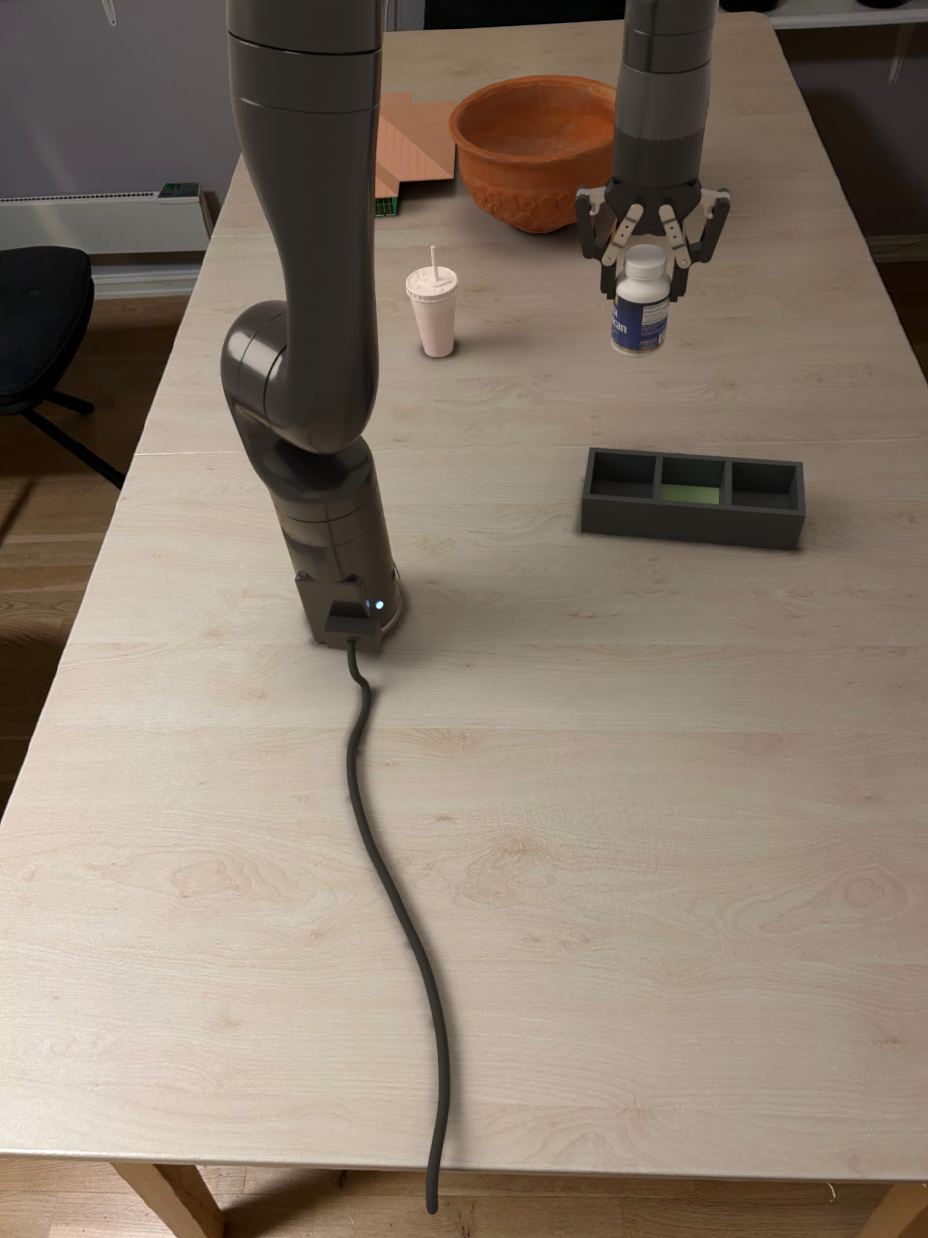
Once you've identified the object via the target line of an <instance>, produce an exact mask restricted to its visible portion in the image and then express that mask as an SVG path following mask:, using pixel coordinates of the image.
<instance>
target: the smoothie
mask: <svg viewBox="0 0 928 1238" xmlns="http://www.w3.org/2000/svg"><path fill="white" fill-rule="evenodd" d="M430 255H431V265H432V266H426V267H425V266H424V267H422V268H419V269H416V270H414V271H413V272H411V273H410V274H409V276H407V278H406V280H405V292H406V294H407V295H408V297H409V298H410V301H411V304H412V308H413V312H414V316H415V320H416V323H417V327H418V331H419V334H420V335H419V336H420V338H421V342H422V346H423V351H424V352H425V354H426V355H427V356H429V357H432V358H443V357H447V356H449V355H450V354H451V353H453V351H454V342H455V341H454V340H455V324H456V323H455V322H456V302H457V292H458V290H459V287H460V284H459V276H458V275H457V273H456V272H455V271H453V270H452V269H450V268H448V267H444V266H438V260H437V259H438V258H437V249H436V245H430Z"/></svg>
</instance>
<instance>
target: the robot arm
mask: <svg viewBox="0 0 928 1238" xmlns="http://www.w3.org/2000/svg"><path fill="white" fill-rule="evenodd" d="M719 3H720V0H625V8H624V19H623V31H622V46H621V47H622V48H621V61H620V67H619V72H618V77H617V83H616V89H617V91H616V100H615V121H614V137H613V153H612V168H611V176H610V178H609V180H608V182H607V183H606V186H605V187H599V188H593V189H590V188H589V187H588V186H587V185H580V186H579V187H578V188H577V193H576V199H575V211H576V217H577V222H576V223H577V228H578V233H579V240H580V247H581V253H582V256H583V258H585V259H586V260H592V259H594V260H597V261H598V262H599V263H600V266H601V267H600V282H599V284H600V285H599V290H600V292H601V294H602V295H603V294H604V295H606V300H608V301H610V300H611V301H613V300H614V290H615V281H616V278H617V265H618V256H619V254H620V252H621V251H622V249H624V247H626V246H625V245H626V244H627V242H628V240H629V238H630V236H632V237H633V236H636V237H637V236H638V237H641V236H645V235H652V236H655V237H667V240H668V243H669V246H670V249H671V250H672V251H673V254H674V259H673V266H672V276H671V294H670V302H669V303H678V300H679V297H680V298H683V297H684V296H685V294H686V293H687V288H688V287H687V286H688V278H689V273H690V268H691V266H693V265H694V264H697V263H701V264H708V263H710V261H711V260H712V258H713V255H714V252H715V250H716V247H717V245H718V242H719V240H720V237H721V235H722V232H723V229H724V227H725V224H726V222H727V218H728V216H729V213H730V211H731V192H730V190H729V188H728V187H721V188H719V189H718V190H717V191H715V190H711V189H706V188H703V187H702V184H701V182H700V178H699V175H700V168H701V167H700V166H701V160H702V153H703V145H704V138H705V132H706V131H705V130H706V124H707V118H708V117H707V116H708V110H709V107H710V96H711V95H710V94H711V82H712V54H713V47H714V39H715V33H716V26H717V25H716V24H717V18H718V11H719ZM384 4H385V1H384V0H225V19H226V20H225V26H226V47H227V66H228V67H227V69H228V86H229V101H230V102H229V103H230V109H231V110H230V111H231V117H232V122H233V126H234V130H235V131H234V132H235V135H236V138H237V142H238V145H239V149H240V151H241V154H242V157H243V161H244V163H245V166H246V169H247V171H248V175H249V178H250V180H251V183H252V185H253V189H254V191H255V193H256V196H257V198H258V201H259V204H260V206H261V209H262V212H263V213H264V216H265V219H266V221H267V224H268V226H269V229H270V232H271V234H272V237H273V241H274V242H275V246H276V249H277V253H278V256H279V260H280V265H281V267H282V268H281V269H282V273H283V280H284V289H285V298H286V299H285V300H280V299H271V300H270V299H269V300H264V301H263V300H262V301H260V302H258V303H255V304H253V305H251V306H249V307H248V308H246V309H245V310H244V311H243V312H241V313H240V314H239V315H238V317H236V319H235V320H234V321H233V323H232V324H231V326H230V327H229V328H228V331H227V333H226V336H225V337H224V341H223V344H222V347H221V348H222V349H221V355H220V362H219V363H220V364H219V366H220V367H219V368H220V370H219V371H220V379H221V386H222V390H223V394H224V398H225V400H226V404H227V407H228V409H229V412H230V415H231V417H232V420H233V422H234V425H235V428H236V431H237V433H238V436H239V438H240V441H241V443H242V446H243V448H244V452H245V453H246V457H247V459H248V461H249V463H250V465H251V467H252V469H253V470H254V472H255V473H256V475H257V476H258V477H259V479H260V480H261V481H262V484H264V485H265V487H266V489H267V490H268V492H269V495H270V498H271V501H272V503H273V506H274V510H275V514H276V516H277V520H278V523H279V526H280V529H281V533H282V536H283V540H284V542H285V545H286V549H287V551H288V555H289V558H290V561H291V565H292V568H293V570H294V574H295V577H294V583H295V587H296V589H297V593H298V596H299V599H300V601H301V605H302V608H303V611H304V615H305V617H306V619H307V620H306V621H307V623H308V626H309V629H310V632H311V636H312V639H313V641H314V642H315V643H320V644H326V646H327V648H328V649H329V650H330V649H331V650H340V651H346V659H347V667H348V671H349V674H350V676H351V678H352V680H353V681H354V682H355V683H356V684H358V685H359V686H360V691H361V698H362V700H361V701H362V702H361V708H360V712H359V715H358V717H357V720H356V723H355V725H354V727H353V729H352V731H351V734H350V736H349V739H348V743H347V748H346V757H345V759H346V763H345V765H346V779H347V786H348V792H349V798H350V801H351V805H352V809H353V813H354V817H355V821H356V823H357V826H358V830H359V833H360V835H361V838H362V842H363V844H364V846H365V849H366V852H367V854H368V856H369V858H370V859H371V863H372V865H373V866H374V869H375V870H376V872H377V874H378V877H379V879H380V881H381V883H382V885H383V887H384V889H385V890H386V893H387V895H388V898H389V900H390V902H391V904H392V907H393V909H394V912H395V914H396V916H397V918H398V920H399V922H400V924H401V926H402V929H403V932H404V934H405V935H406V939H407V940H408V942H409V944H410V947H411V949H412V951H413V954H414V957H415V959H416V962H417V964H418V967H419V970H420V974H421V976H422V979H423V983H424V986H425V991H426V995H427V998H428V999H427V1000H428V1003H429V1007H430V1012H431V1017H432V1022H433V1027H434V1033H435V1034H434V1035H435V1042H436V1050H437V1051H436V1052H437V1053H436V1054H437V1069H438V1071H437V1072H438V1097H437V1109H436V1115H435V1122H434V1127H433V1133H432V1138H431V1142H430V1143H431V1144H430V1149H429V1154H428V1160H427V1168H426V1178H425V1207H426V1211H427V1213H428V1214H429V1215H430V1216H435V1214H437V1213H438V1210H439V1178H440V1177H439V1176H440V1169H441V1168H440V1167H441V1160H442V1154H443V1148H444V1143H445V1138H446V1134H447V1133H446V1132H447V1127H448V1120H449V1113H450V1102H451V1069H450V1067H451V1066H450V1052H449V1051H450V1049H449V1042H448V1033H447V1027H446V1022H445V1016H444V1011H443V1008H442V1003H441V999H440V995H439V994H440V993H439V991H438V987H437V983H436V979H435V977H434V976H435V975H434V973H433V969H432V967H431V964H430V960H429V958H428V955H427V953H426V951H425V948H424V946H423V943H422V941H421V939H420V937H419V935H418V932H417V929H416V927H415V926H414V924H413V922H412V920H411V917H410V915H409V913H408V911H407V909H406V907H405V903H404V902H403V899H402V898H401V895H400V893H399V890H398V888H397V887H396V884H395V882H394V880H393V878H392V876H391V874H390V872H389V870H388V868H387V866H386V865H385V862H384V860H383V858H382V856H381V854H380V852H379V850H378V847H377V844H376V843H375V840H374V837H373V835H372V832H371V829H370V825H369V823H368V820H367V816H366V813H365V811H364V806H363V803H362V799H361V794H360V791H359V786H358V785H359V784H358V780H357V779H358V778H357V765H356V764H357V763H356V762H357V759H356V758H357V757H356V756H357V747H358V743H359V739H360V737H361V734H362V732H363V730H364V727H365V725H366V723H367V721H368V718H369V714H370V710H371V707H372V692H371V687H370V683H369V681H368V680H367V678H365V677H364V676H363V675H362V674H361V673H360V670H359V668H358V663H357V662H358V661H357V654H356V653H359V652H360V653H367V654H376V655H377V654H378V653H379V649H380V646H381V642H382V639H383V636H385V635H386V634H388V633H389V632H390V631H391V629H393V628H394V627H395V625H396V624H397V623H398V621H399V620H400V619H399V618H400V617H401V613H402V611H403V610H402V609H403V601H402V595H401V591H400V588H399V584H398V580H399V583H402V580H401V576H400V573H399V570H398V569H397V566H396V563H395V561H394V557H393V555H392V548H391V543H390V538H389V532H388V527H387V522H386V517H385V512H384V506H383V501H382V496H381V490H380V484H379V480H378V474H377V469H376V464H375V459H374V454H373V452H372V449H371V448H370V446H369V444H368V443H367V441H366V440H365V438H364V437H363V436H362V434H363V433H364V431H365V429H366V427H367V426H368V423H369V421H370V420H371V418H372V417H371V416H372V414H373V412H374V409H375V405H376V401H377V395H378V391H379V382H380V381H379V380H380V353H379V352H380V349H379V347H380V346H379V332H378V331H379V330H378V311H377V294H376V274H375V273H376V272H375V235H376V233H375V231H376V230H375V229H376V228H375V226H376V225H375V224H376V216H375V215H376V205H375V204H376V198H375V184H376V151H377V138H378V125H379V113H380V98H381V94H382V76H383V75H382V73H383V56H384V55H383V52H384V51H383V50H384V45H383V44H384V7H385V6H384ZM602 202H603V203H605V204H606V205H607V206H608V208H609V209H610V211H611V213H612V214H613V215H614V217H615V220H614V222H613V224H612V228H611V230H610V232H609V234H607V235H608V236H607V238H606V240H602V239H601V238H598V233H597V227H596V220H595V216H597V215H598V214H599V212H600V207H601V205H602V204H603V203H602ZM601 203H602V204H601ZM600 204H601V205H600ZM699 205H701V206H702V207H703V217H704V218H705V219H706V220H705V223H704V226H703V228H702V229H703V230H702V232H701V235H700V236H699V240H698V241H695V242H692V243H691V242H690V239H689V235H688V232H687V227H686V223H685V220H686V219H687V218H688V216H690V214H691V213H692V212H693V211H694V210H695V209H696V208H697V207H698V206H699ZM397 577H398V579H397Z"/></svg>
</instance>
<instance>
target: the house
mask: <svg viewBox="0 0 928 1238" xmlns="http://www.w3.org/2000/svg"><path fill="white" fill-rule="evenodd" d="M412 98H413V92H402V93H383V94H382V93H381V98H380V113H379V125H378V138H377V151H376V184H375V199H377V201H379V199H387V200H388V206H389V208H388V209H391V206H390V205H392V208H393V209H392V210H393V213H391V212H389V213H390V214H387V216H395V215H396V211H397V206H398V205H397V204H398V198H399V189H400V183H405V182H408V183H409V182H422V181H423V182H425V181H439V180H440V181H441V180H443V181H444V180H454V174H455V158H456V156H455V155H456V143H455V142H454V141H453V140H452V138H451V136H450V133H449V129H448V121H449V117H450V115H451V113H452V112H453V110H454V108H455V107H456V106H457V105H458V104H459V103H458V102H459V101H458V100H448V101H447V100H446V101H431V102H430V101H429V102H415V103H414V102H413V103H412V101H413V100H412ZM389 198H391V200H392V201H391V202H390V199H389ZM382 202H383V203H382V205H383V206H385V205H387V203H385V200H382ZM380 205H381V203H375V206H377V207H378V208H380ZM383 210H384V212H386V211H385V210H386V208H385V207H383ZM380 211H381V210H378V214H375V217H378V216H379V217H380V216H383V214H381V212H380Z"/></svg>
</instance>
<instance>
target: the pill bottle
mask: <svg viewBox="0 0 928 1238" xmlns="http://www.w3.org/2000/svg"><path fill="white" fill-rule="evenodd" d="M667 264H668V254H667V251H666V250H664V249H663V248H662V247H660V246H658V245H655V244H649V243H647V244H645V243H643V244H637V245H634V246H631V247H629V248H628V249H627V250H626V251H625V253H624V257H623V268H622V270H621V271H620V272H619V273H618V274H617V275H616V281H615V290H614V300H612V301H613V302H612V303H613V304H612V317H611V329H610V343H611V346H612V348H613V349H614V350H615V351H616V352H617V353H618V354H620V355H621V356H625V357H627V358H632V359H644V358H648V357H651V356H654V355H655V354H657V353H658V352H660V351H661V350H662V348H663V347H664V344H665V340H666V335H667V334H666V332H667V324H668V317H669V308H670V303H671V302H670V294H671V282H672V277H671V276H670V274H669V273H668V272H667Z"/></svg>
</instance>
